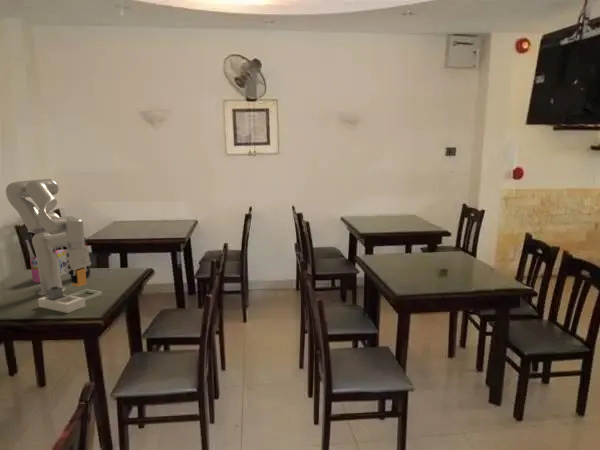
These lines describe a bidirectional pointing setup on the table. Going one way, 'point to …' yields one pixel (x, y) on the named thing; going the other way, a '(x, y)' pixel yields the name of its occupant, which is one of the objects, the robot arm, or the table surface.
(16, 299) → the table surface
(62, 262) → the gum box
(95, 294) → the tray
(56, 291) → the twin plug
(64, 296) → the white compartment box
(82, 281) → the orange plug
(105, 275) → the table surface
